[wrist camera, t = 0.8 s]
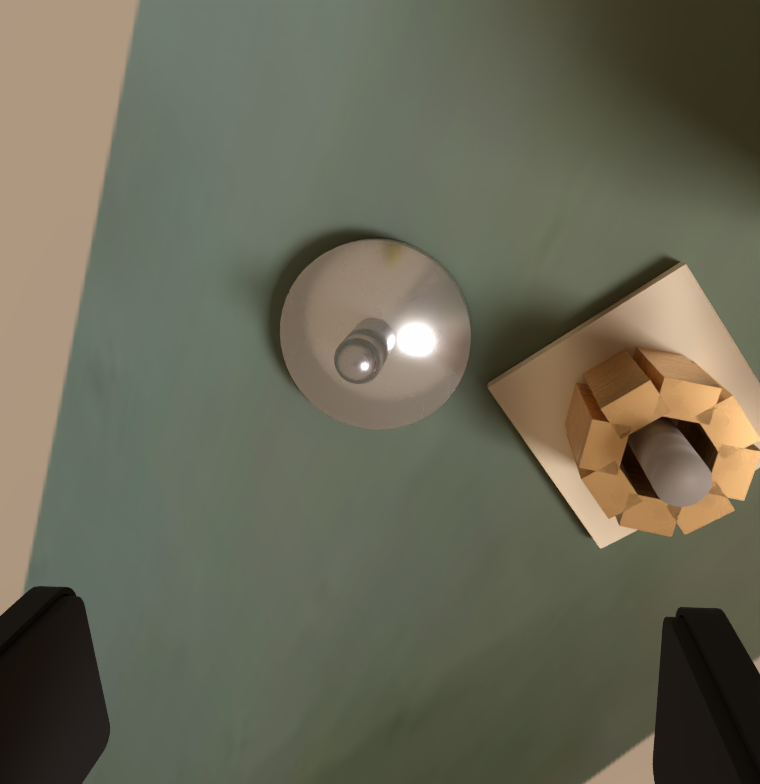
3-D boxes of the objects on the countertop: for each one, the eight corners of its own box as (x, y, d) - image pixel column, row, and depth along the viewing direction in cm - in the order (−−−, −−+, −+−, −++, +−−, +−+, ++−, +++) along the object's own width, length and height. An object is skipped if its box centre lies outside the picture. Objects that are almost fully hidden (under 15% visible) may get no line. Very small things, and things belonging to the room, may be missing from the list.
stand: (680, 261, 29) (746, 289, 22) (791, 440, 31) (888, 522, 23) (487, 383, 32) (488, 443, 25) (598, 540, 34) (629, 641, 26)
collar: (668, 321, 29) (703, 348, 24) (740, 436, 30) (788, 483, 25) (541, 398, 31) (551, 437, 26) (614, 503, 32) (636, 559, 27)
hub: (398, 197, 30) (377, 201, 24) (508, 357, 32) (513, 397, 26) (250, 309, 33) (200, 337, 27) (358, 452, 34) (332, 508, 28)
